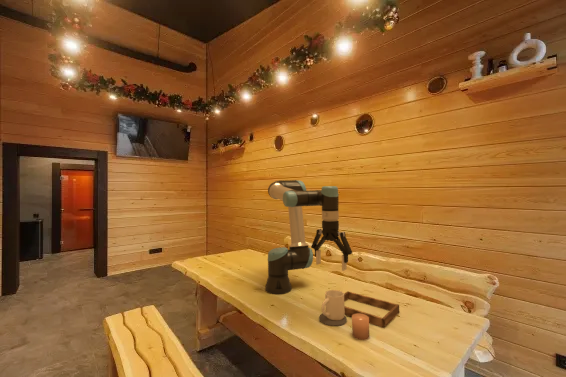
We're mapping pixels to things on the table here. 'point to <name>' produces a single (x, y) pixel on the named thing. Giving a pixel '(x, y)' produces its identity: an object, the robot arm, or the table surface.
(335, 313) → the mug
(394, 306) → the frame
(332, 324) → the dark brown round mat
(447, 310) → the table surface
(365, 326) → the orange rounded cylinder
